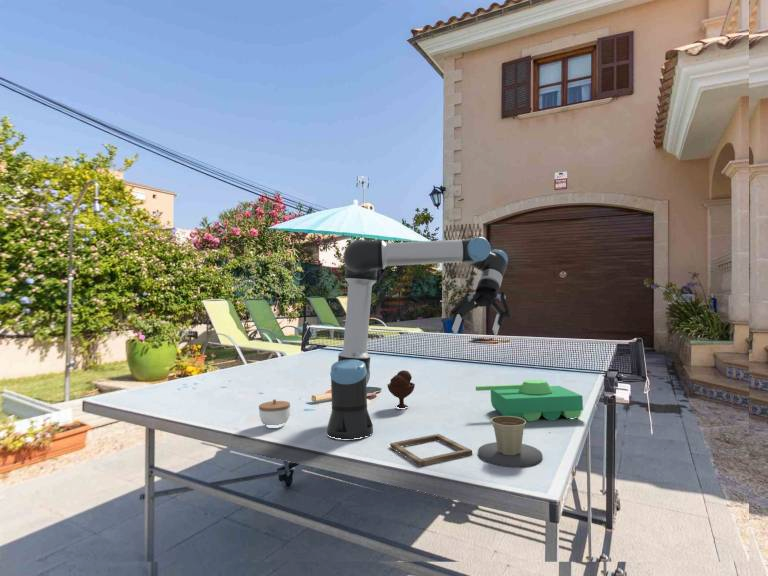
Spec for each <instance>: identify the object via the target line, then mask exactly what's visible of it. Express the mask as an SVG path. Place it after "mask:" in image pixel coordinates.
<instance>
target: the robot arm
mask: <svg viewBox="0 0 768 576" xmlns="http://www.w3.org/2000/svg"><path fill="white" fill-rule="evenodd" d="M343 252H344V253H343V262H344V265H345V271H344V272H345V273H344V281H346V283H347V284H348V286H347V299H346V309H345V310H346V312H345V324H344V333H343V334H344V336H343V349H342V350H341V351H340V352H339V353H338V355H337V356H338V358H337V361H336V362H334V363H333V364H332V365H331V367H330V373H329V375H330V384H331V385H330V387H331V390H330V391H331V392H330V393H331V413H330V416H329V419H328V423H327V427H326V435H327V434H328V435H329V436H331V437H335V438H341V439H354V438H360V437H365V436H368V435H370V434H372V433H373V434H374V425H373V422H372V419H371V416H370V413H369V411H368V395H367V394H368V393H367V392H368V390H367V389H368V388H367V387H368V386H367V385H368V384H369V381H370V377H371V371H370V367H371V355H370V354H369V352H368V339H369V326H370V315H371V303H372V289H373V285H374V284H376V283H377V281H378V277H377V276H378V270H385V268H386V267H390V266H394V267H395V266H411V265H412V266H414V265H428V264H430V265H431V264H432V265H433V264H447V263H448V264H449V263H451V264H452V263H464V264H466V265H468V266H470V267H472V268H475V270H478V271H481V274H480V277H479V279H478V283H477V286H476V289H475V292H474V294H470V293H466V294H465V295H464V297H463V298H462V299H461V300H460V301H459V302H458V303H457V304H456V305H455V306H454V307H453V308H452V309H451V310H450V314H451V316H452V318H453V319H452V324H453V325H452V328H451V331H452V332H453V334H454V335H457V334H458V332H459V329H460V326H461V324H462V320H463V318H462V317H464V316H465V315H467V314H468V313H469V312H471V311H472V310H474V309H477V308H478V307H479V308H480V307H485V308H488V307H489V306H490V307H491V308H492V309H493V310H494V311H495V312H496V316H495V319H494V322H493V326H492V329H491V330H492V332H493V334H494V336H498V334H499V329H500V326H503V325H504V321H505V319H506V318H511V317H512V314H511V310H510V309H509V306H508V303H507V296H506V293H505V292H504V291H502V292H500V288H501V285H502V282H503V277H504V275H505V272H506V270H507V266H508V262H509V261H508V260H509V258H508V255H507V253H506V252H504V251H503V250H501V249H492V247H491V244H490V242H489V241H488V239H486V238H485V237H481V236H480V237H473V238H471V239H470V238H469V239H467V238H466V239H464V238H461V239H449V240H430V241H429V240H427V241H425V240H424V241H406V242H385V241H384V240H383V239H381V240H364V239H360V240H354V241H352V242H351V243H349V244H348V245H347V247H346V248H345V249H344V251H343ZM499 292H500V294H499ZM497 300H499V301H500V302H501V303H502V306H503V308H504V310H502V309H501V307H500V306H499V305H498V304H497V303H496V301H497ZM373 434H372V435H373Z"/></svg>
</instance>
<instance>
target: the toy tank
mask: <svg viewBox="0 0 768 576" xmlns="http://www.w3.org/2000/svg"><path fill="white" fill-rule="evenodd" d="M475 391H476V392H477V391H480V392H481V391H482V392H483V391H490V403H491V406H492V408H493V409H494V410H495V411H497V412H498V413H499V414H501V416H513V417H519V418H522V419H524V420H526V421H528V422H533V420H536V421H537V420H539V419H540V418H541V417H543V418H544V419H546V420H547V419H556V420H558V419H559V418H560V417H561V416H563V417H564V418H566V419H568V418H575V417H579V418H580V416H581V414H582V411H584V404H583V395H582V394H580V393H577V392H576V391H575V392H574V391H572V390H570V389H568V388H565V387H563V386H560V385H550V383H548V381H547V380H543V379H527V380H524V381H523V383H522V384H502V385H501V384H499V385H497V384H496V385H495V384H494V385H475Z"/></svg>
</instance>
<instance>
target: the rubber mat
mask: <svg viewBox="0 0 768 576" xmlns="http://www.w3.org/2000/svg"><path fill="white" fill-rule="evenodd" d="M477 455H478V457H479V458H480V459H481V460H483V461H484V462H486V463H489V464H492V465H495V466H498V467H499V466H501V467H506V468H507V467H509V468H525V467H532V466H536V465H538V464H539V463H541V462H542V461H543V452H542V451H540V450H539V449H538V448H536V447H534V446H532V445H529V444H526V443H522V448H521V453H520V454H517V455H514V456H512V455H504V454H503V453H499V452H498V449H497V442H496V441H494V442H489V443H485V444H482V445H481V446H480V447H478V449H477Z"/></svg>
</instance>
